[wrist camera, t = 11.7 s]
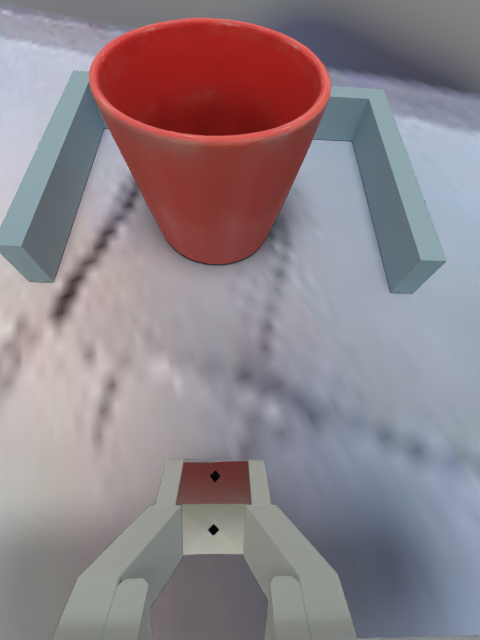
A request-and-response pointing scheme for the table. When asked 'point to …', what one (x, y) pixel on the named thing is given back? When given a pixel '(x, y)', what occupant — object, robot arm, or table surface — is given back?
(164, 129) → the flower pot
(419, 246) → the tray frame
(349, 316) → the table surface
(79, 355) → the table surface
